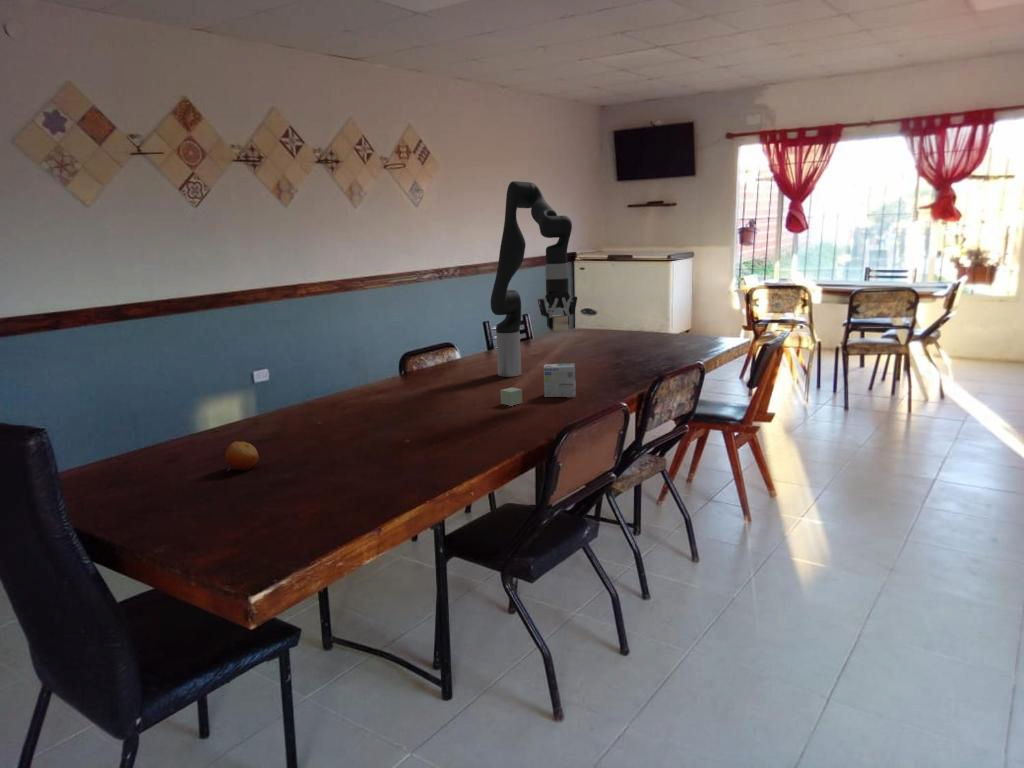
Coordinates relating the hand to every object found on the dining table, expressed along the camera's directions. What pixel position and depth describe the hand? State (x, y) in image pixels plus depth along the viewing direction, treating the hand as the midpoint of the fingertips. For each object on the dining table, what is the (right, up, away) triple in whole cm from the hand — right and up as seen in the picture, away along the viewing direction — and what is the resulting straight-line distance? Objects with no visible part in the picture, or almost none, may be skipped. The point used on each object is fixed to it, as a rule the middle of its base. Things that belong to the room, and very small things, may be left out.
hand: (558, 327), depth 250 cm
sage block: (-16, -26, -4) cm, 30 cm away
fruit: (-84, -41, -61) cm, 112 cm away
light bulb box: (+1, -23, +5) cm, 24 cm away
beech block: (0, -1, 0) cm, 1 cm away
